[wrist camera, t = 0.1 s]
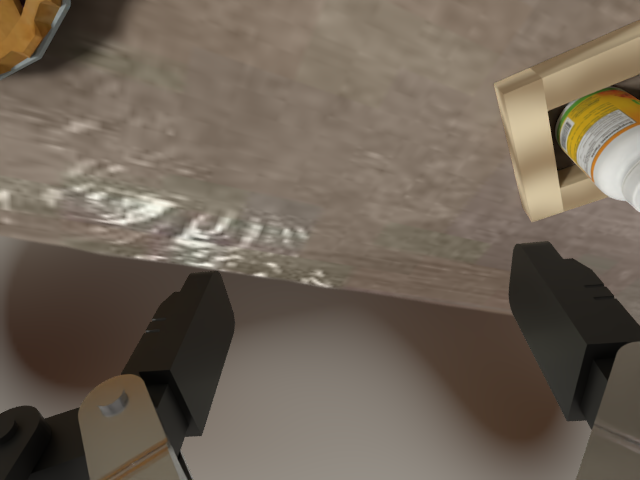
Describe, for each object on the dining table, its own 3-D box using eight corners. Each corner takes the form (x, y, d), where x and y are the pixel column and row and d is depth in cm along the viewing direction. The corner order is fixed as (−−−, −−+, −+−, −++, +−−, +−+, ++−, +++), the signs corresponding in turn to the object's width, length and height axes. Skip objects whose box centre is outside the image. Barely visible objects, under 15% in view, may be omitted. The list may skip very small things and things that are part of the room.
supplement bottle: (643, 115, 32) (742, 183, 24) (576, 164, 34) (646, 239, 27) (607, 68, 29) (703, 127, 22) (538, 124, 32) (602, 193, 25)
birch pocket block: (493, 83, 30) (503, 94, 28) (685, -1, 27) (709, 6, 25) (522, 207, 37) (531, 222, 35) (678, 153, 33) (697, 167, 32)
